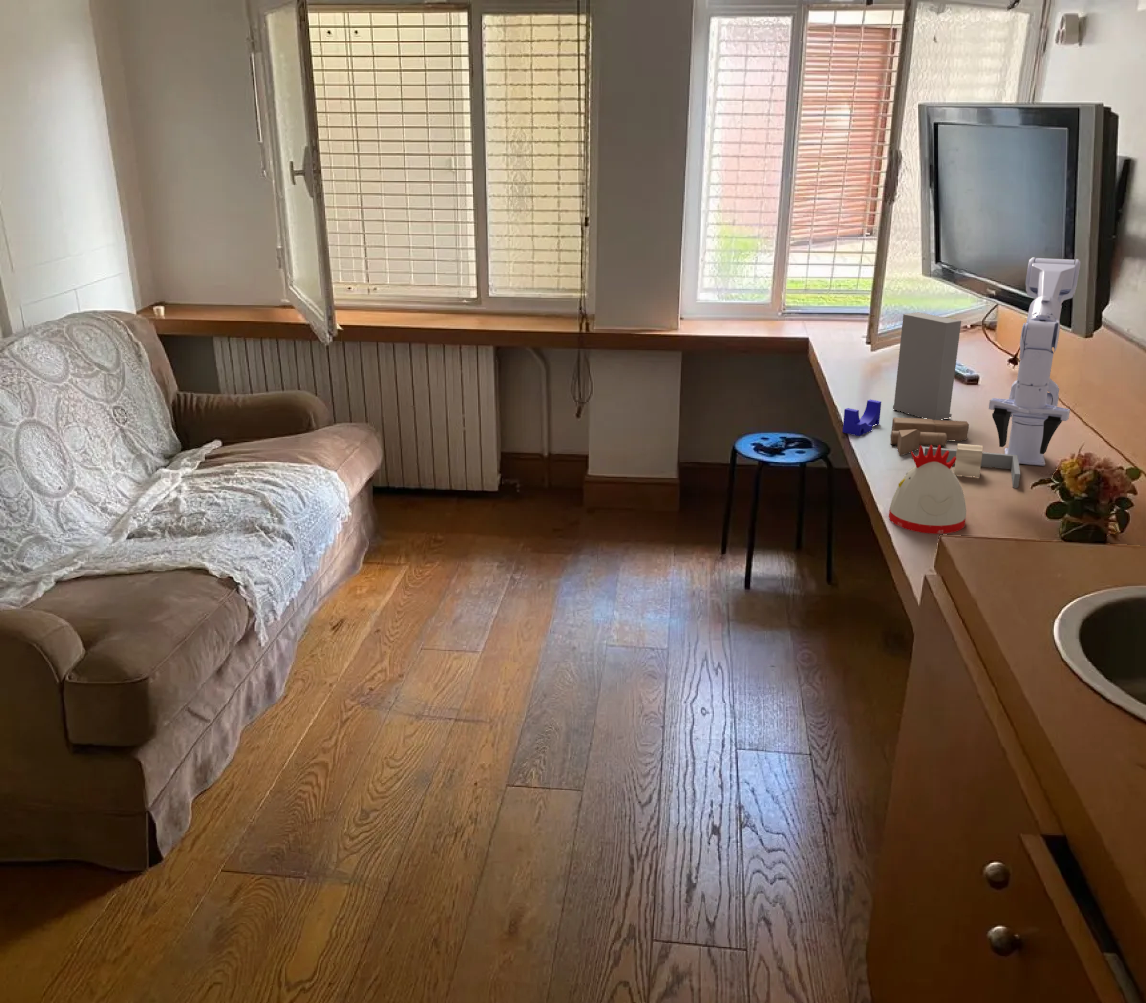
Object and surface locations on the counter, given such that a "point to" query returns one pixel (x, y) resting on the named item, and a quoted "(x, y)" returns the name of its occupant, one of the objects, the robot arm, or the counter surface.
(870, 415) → the cable clip
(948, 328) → the tall grey upright block
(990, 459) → the grey open bracket
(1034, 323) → the robot arm
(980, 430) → the counter surface
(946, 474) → the kitchen timer
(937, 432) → the wooden block set
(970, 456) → the birch block
